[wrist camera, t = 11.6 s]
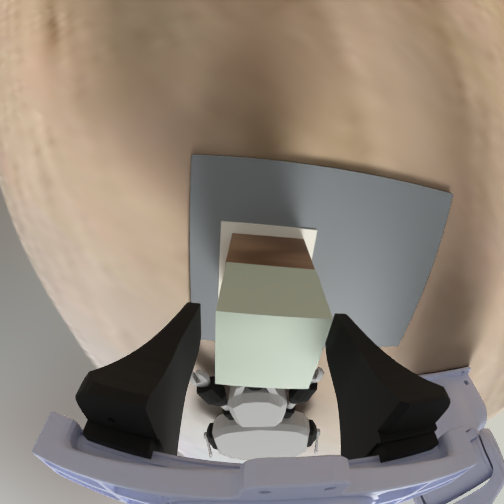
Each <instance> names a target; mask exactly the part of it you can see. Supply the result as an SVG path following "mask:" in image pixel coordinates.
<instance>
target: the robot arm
mask: <svg viewBox="0 0 504 504" xmlns="http://www.w3.org/2000/svg"><path fill="white" fill-rule="evenodd" d="M200 340H201V304H200V303H191V302H188V303H187V304H186V305H185V306H184V307H183V308H182V309H181V310H180V312H179V313H178V314H177V315H176V316H175V317H174V318H173V319H172V320H171V321H170V322H169V323H168V324H167V325H166V326H165V327H164V328H163V329H162V330H161V331H160V332H159V333H158V334H157V335H156V336H154V337H153V338H152V339H151V340H150V341H148V342H147V343H146V344H144V345H143V346H142V347H140V348H139V349H137V350H136V351H134V352H132V353H131V354H129V355H127V356H126V357H124V358H122V359H120V360H118V361H116V362H114V363H112V364H109V365H107V366H104V367H102V368H99V369H96V370H93V371H90V372H89V373H88V375H87V376H86V377H85V378H84V381H83V382H82V384H81V386H80V388H79V390H78V392H77V394H76V401H77V403H78V405H79V407H80V408H81V410H82V412H83V413H84V415H85V416H86V418H87V419H88V421H87V423H86V425H85V428H84V430H82V429H81V427H80V425H79V424H78V423H77V422H76V421H75V420H73V419H71V418H69V417H67V416H64V415H62V414H60V413H57V412H55V411H51V413H50V415H49V417H48V419H47V421H46V423H45V425H44V427H43V429H42V431H41V433H40V435H39V437H38V439H37V441H36V443H35V445H34V448H33V450H32V452H33V453H34V454H35V455H36V456H37V457H38V458H39V459H40V460H41V461H43V462H44V463H45V464H46V465H47V466H48V467H50V468H51V469H52V470H53V471H55V472H56V473H57V474H59V475H61V476H63V477H65V478H67V479H69V480H71V481H73V482H75V483H77V484H80V485H82V486H84V487H87V488H89V489H91V490H93V491H96V492H98V493H101V494H103V495H105V496H108V497H110V498H113V499H116V500H118V501H121V502H124V503H127V504H399V503H402V502H405V501H407V500H410V499H413V500H414V502H415V504H446V503H448V502H450V501H451V500H453V499H455V498H457V497H459V496H461V495H463V494H464V493H466V492H468V491H470V490H471V489H473V488H475V487H476V486H478V485H479V484H481V483H483V482H484V481H486V480H487V479H489V478H490V477H491V478H490V480H489V481H488V483H487V484H485V485H484V486H483V487H482V488H480V489H478V490H477V491H475V492H473V493H472V494H470V495H468V496H467V497H465V498H463V499H461V500H459V501H458V502H456V503H454V504H492V503H493V501H494V500H495V498H496V497H497V495H498V494H499V492H500V491H501V489H502V487H503V486H504V460H503V457H502V454H501V452H500V449H499V447H498V445H497V442H496V440H495V438H494V436H493V434H492V433H491V431H490V430H489V429H485V428H484V426H485V424H486V420H487V410H486V406H485V404H484V402H483V400H482V398H481V396H480V394H479V393H478V391H477V389H476V387H475V386H474V384H473V382H472V380H471V379H470V377H469V375H468V373H469V371H470V370H471V368H470V367H464V368H460V369H455V370H449V371H444V372H438V373H432V374H425V375H419V376H418V375H416V374H415V373H413V372H411V371H410V370H408V369H406V368H405V367H403V366H402V365H400V364H399V363H397V362H396V361H395V360H393V359H392V358H391V357H390V356H388V355H387V354H386V353H385V352H383V351H382V350H381V349H380V348H379V347H378V346H377V345H376V344H375V343H374V342H373V341H372V340H371V339H370V338H369V337H368V336H367V335H366V334H365V333H364V332H363V331H362V330H361V329H360V328H359V327H358V326H357V325H356V324H355V322H354V321H353V320H352V319H351V318H350V317H349V316H348V315H347V314H338V313H335V314H334V317H333V321H332V324H331V327H330V330H329V333H328V336H327V339H326V342H325V346H326V355H327V362H328V366H329V370H330V373H331V377H332V381H333V385H334V389H335V393H336V397H337V402H338V410H339V420H340V434H341V455H323V456H308V457H266V458H255V459H251V460H247V461H246V462H245V463H243V464H240V463H227V462H217V461H208V460H201V459H194V458H187V457H181V456H177V450H178V441H179V433H180V426H181V419H182V413H183V407H184V401H185V396H186V391H187V387H188V384H189V381H190V378H191V374H192V371H193V368H194V365H195V361H196V358H197V355H198V351H199V346H200Z"/></svg>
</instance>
